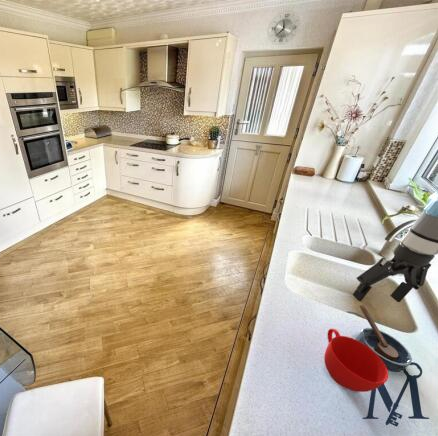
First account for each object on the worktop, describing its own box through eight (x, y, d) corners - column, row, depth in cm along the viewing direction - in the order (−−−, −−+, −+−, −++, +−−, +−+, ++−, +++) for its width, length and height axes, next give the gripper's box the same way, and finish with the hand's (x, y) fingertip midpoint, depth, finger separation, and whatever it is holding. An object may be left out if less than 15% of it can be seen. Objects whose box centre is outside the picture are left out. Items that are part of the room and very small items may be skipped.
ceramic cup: (340, 344, 78) (355, 326, 73) (380, 404, 64) (402, 386, 59) (301, 340, 79) (313, 322, 74) (332, 399, 64) (350, 380, 59)
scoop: (396, 363, 73) (413, 348, 69) (381, 363, 73) (397, 347, 69) (356, 319, 87) (368, 304, 83) (343, 319, 87) (355, 304, 82)
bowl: (378, 336, 82) (386, 328, 80) (413, 373, 72) (423, 365, 69) (346, 335, 81) (352, 327, 79) (376, 373, 71) (384, 365, 69)
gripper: (442, 241, 71) (399, 290, 82) (365, 238, 69) (332, 288, 80) (473, 257, 64) (422, 308, 75) (388, 254, 63) (349, 307, 74)
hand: (375, 298), depth 78 cm, fingers open, 13 cm apart
